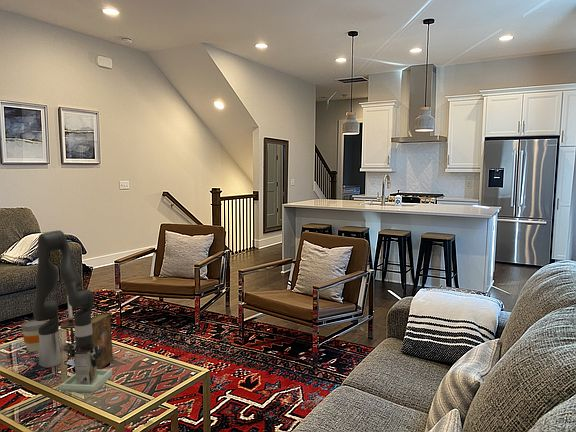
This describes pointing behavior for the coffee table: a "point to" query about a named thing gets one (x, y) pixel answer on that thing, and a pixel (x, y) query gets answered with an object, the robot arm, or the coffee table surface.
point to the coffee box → (84, 367)
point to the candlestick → (69, 327)
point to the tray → (98, 382)
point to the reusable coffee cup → (32, 334)
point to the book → (103, 338)
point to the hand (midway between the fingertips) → (86, 366)
